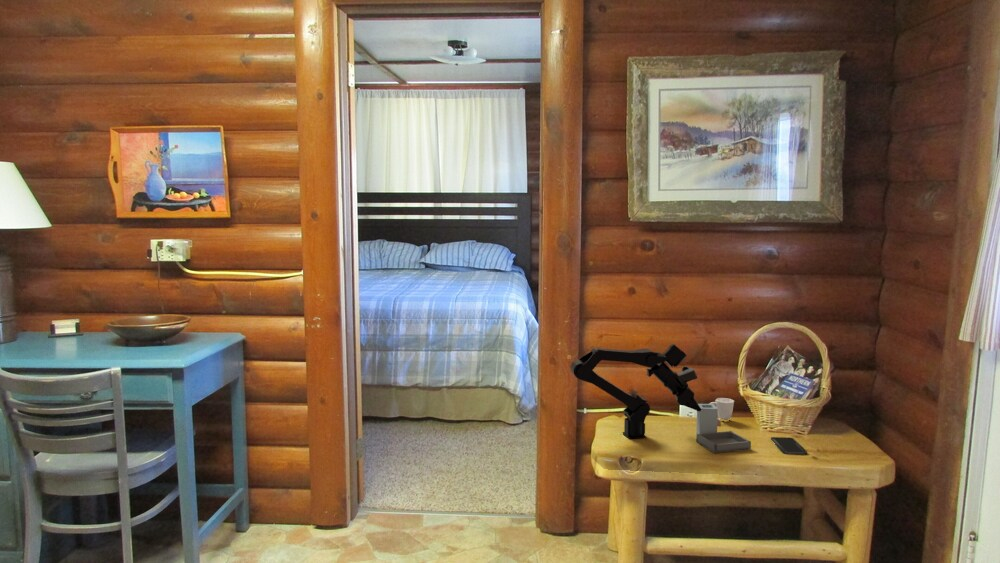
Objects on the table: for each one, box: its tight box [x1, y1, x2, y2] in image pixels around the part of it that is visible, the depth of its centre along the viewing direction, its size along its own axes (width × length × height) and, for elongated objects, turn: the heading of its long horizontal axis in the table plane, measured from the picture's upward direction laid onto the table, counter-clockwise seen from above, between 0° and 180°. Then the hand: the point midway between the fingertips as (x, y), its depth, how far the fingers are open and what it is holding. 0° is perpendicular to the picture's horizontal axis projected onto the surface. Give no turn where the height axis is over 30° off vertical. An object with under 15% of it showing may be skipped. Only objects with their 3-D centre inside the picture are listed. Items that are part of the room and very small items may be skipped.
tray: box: [695, 430, 752, 454], centre depth 223 cm, size 14×12×3 cm
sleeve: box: [696, 403, 722, 435], centre depth 233 cm, size 8×6×11 cm
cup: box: [709, 397, 735, 420], centre depth 251 cm, size 7×10×8 cm
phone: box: [770, 436, 808, 456], centre depth 222 cm, size 8×1×15 cm
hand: (697, 406), depth 233 cm, fingers open, 9 cm apart
